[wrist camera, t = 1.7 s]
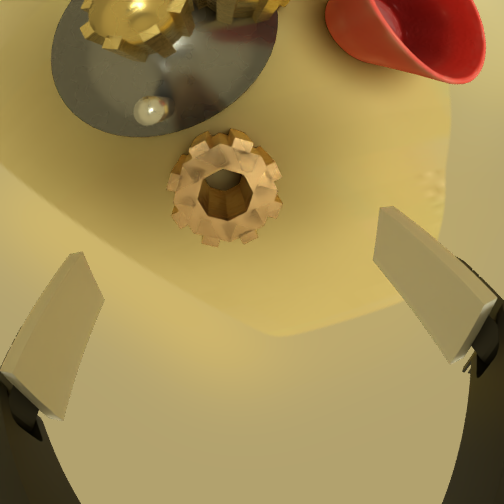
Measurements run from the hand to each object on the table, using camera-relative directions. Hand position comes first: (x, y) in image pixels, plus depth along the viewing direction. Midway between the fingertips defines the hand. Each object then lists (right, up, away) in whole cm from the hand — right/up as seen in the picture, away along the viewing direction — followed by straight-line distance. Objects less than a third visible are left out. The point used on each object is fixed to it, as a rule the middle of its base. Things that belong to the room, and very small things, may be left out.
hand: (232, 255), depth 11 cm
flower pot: (+10, +20, +4) cm, 23 cm away
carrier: (-7, +17, +3) cm, 19 cm away
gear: (-2, +7, +10) cm, 12 cm away
